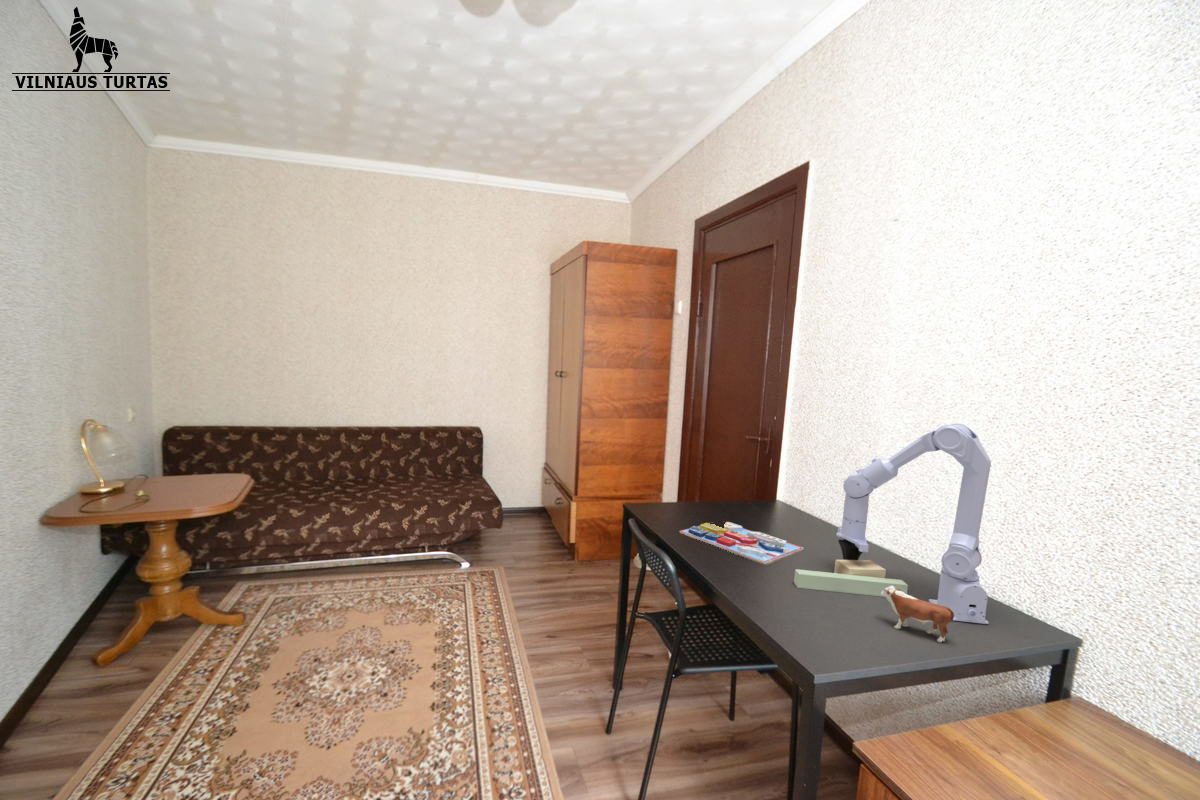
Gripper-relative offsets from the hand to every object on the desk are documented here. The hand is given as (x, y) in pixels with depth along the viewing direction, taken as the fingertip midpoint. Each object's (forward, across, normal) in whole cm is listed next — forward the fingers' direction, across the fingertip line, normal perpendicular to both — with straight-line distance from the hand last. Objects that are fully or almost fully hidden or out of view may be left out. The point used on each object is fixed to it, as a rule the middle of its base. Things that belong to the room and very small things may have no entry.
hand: (849, 568), depth 133 cm
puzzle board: (+3, -19, -25) cm, 32 cm away
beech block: (+2, +5, +1) cm, 5 cm away
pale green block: (+2, +10, -4) cm, 11 cm away
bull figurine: (+2, +28, +2) cm, 28 cm away
